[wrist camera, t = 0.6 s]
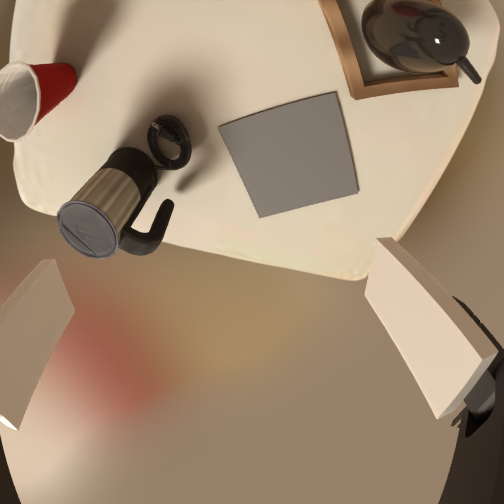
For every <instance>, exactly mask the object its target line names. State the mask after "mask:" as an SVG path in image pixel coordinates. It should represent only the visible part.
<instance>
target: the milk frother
mask: <svg viewBox="0 0 504 504" xmlns="http://www.w3.org/2000/svg"><path fill="white" fill-rule="evenodd" d="M156 130H157V135H156ZM156 136H157V137H159V136H161V137H163V138H165V139H167V140H169V141H171V142H175V143H176V144H177V145H180V147H181V153H180V156H179V157H178V159H175V160H170V159H168V158H166V157H165V156H164V155H163V154H162V153H161V152H160V150H159V148H158V146H157V143H156ZM147 139H148V143H149V147H150V150H151V152H152V154H153V156H154V157H155V158H156V160H157V161H158V162H159V163H161V164H162V165H163V166H157V165H154V163H153V162H152V160H151V159H150V158H149V157H148V156H147V155H146V154H145V153H143V152H142V151H140V150H137V149H134V148H121V149H119V150H117V151H115V152H114V153H113V154H112V155H111V156H110V157H109V159H108V161H107V162H106V163H105V164H104V165H103V166H102V167H101V168H100V169H99V170H98V171H97V172H96V173H95V174H94V175H93V176H92V177H91V178H90V179H89V180H88V181H87V182H86V183H85V184H84V186H83V187H82V188H81V189H80V190H79V191H78V192H77V193H76V194H75V195H74V196H73V198H72V199H71V200H70V201H69V202H67V203H65V204H64V205H62V206H61V208H60V210H59V211H58V213H57V222H58V226H59V229H60V232H61V234H62V236H63V237H64V239H65V240H66V241H67V242H68V243H69V244H70V245H71V247H73V248H74V249H75V250H77V251H78V252H80V253H81V254H83V255H85V256H87V257H90V258H94V259H107V258H109V257H111V256H113V255H114V254H115V252H116V250H117V249H118V248H120V249H122V250H124V251H126V252H128V253H130V254H133V255H139V256H140V255H147V254H150V253H152V252H153V251H154V250H156V248H157V247H158V246H159V244H160V243H161V241H162V239H163V237H164V234H165V231H166V229H167V226H168V223H169V220H170V217H171V214H172V212H173V208H174V203H173V201H171V200H170V199H166V200H164V201H163V202H162V204H161V206H160V207H159V210H158V212H157V214H156V217H155V219H154V221H153V223H152V226H151V228H150V231H149V232H148V233H142V232H139V231H137V230H135V229H133V228H131V225H132V224H133V222H134V221H135V219H136V218H137V216H138V215H139V213H140V211H141V210H142V208H143V206H144V204H145V203H146V201H147V200H148V198H149V197H150V195H151V193H152V191H153V190H154V188H155V187H156V184H157V170H156V169H165V170H178V169H180V168H183V167H184V166H185V165H186V164H187V163H188V162H189V160H190V157H191V143H190V138H189V135H188V132H187V130H186V128H185V127H184V125H183V124H182V123H181V122H180V120H178V119H177V118H175V117H173V116H170V115H163V116H160V117H158V118H157V119H155V120H154V121H153V122H152V124H151V125H150V128H149V131H148V136H147Z"/></svg>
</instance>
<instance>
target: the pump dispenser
mask: <svg viewBox="0 0 504 504" xmlns="http://www.w3.org/2000/svg"><path fill="white" fill-rule="evenodd" d="M361 26H362V32H363V36H364V39H365V41H366V43H367V45H368V47H369V48H370V50H371V51H372V52H373V53H374V55H375V56H376V57H377V58H379V59H380V60H381V61H382V62H384V63H385V64H387V65H388V66H390V67H393V68H395V69H398V70H401V71H406V72H414V73H433V72H439V71H443V70H446V69H449V68H451V67H453V66H455V65H458V66H459V67H460V68H461V69H462V70H463V72H464V73H465V74H466V75H467V76H468V77H469V78H470V79H471V80H472V82H473V83H474V84H479V83H480V82H481V80H482V79H481V77H480V76H479V74H478V73H477V71H476V70H475V69H474V67H473V66H472V64H471V63H470V62H469V60H468V59H467V58H466V55H467V53H468V50H469V46H470V41H469V36H468V33H467V31H466V29H465V27H464V26H463V24H462V23H461V22H460V20H459V19H458V18H457V17H456V16H455V15H454V14H452V13H451V12H450V11H449V10H447V9H446V8H444V7H442V6H441V5H439V4H437V3H434V2H432V1H430V0H372V1H371V2H370V3H369V4H368V5H367V6H366V8H365V10H364V12H363V15H362V21H361Z"/></svg>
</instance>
